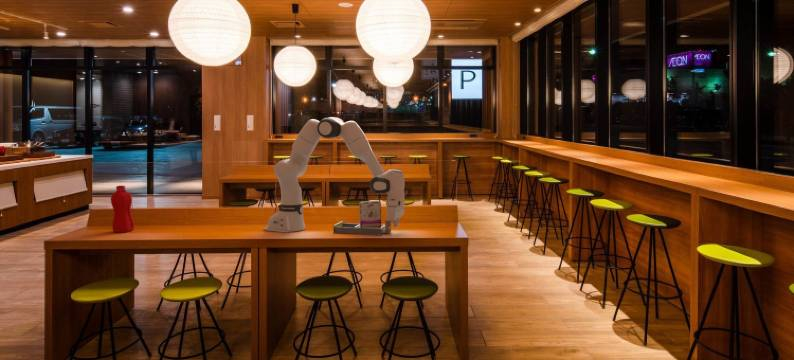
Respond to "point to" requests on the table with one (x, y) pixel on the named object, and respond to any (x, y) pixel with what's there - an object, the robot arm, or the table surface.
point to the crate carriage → (385, 228)
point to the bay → (354, 229)
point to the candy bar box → (370, 214)
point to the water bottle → (122, 210)
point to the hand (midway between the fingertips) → (396, 226)
